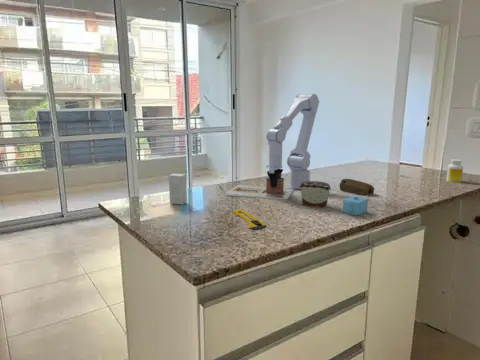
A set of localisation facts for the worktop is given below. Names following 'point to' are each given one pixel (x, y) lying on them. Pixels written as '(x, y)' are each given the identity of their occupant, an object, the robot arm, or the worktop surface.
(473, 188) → the worktop surface
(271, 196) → the rail plate
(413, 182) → the worktop surface
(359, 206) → the blue lidded box
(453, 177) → the supplement bottle
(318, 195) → the food container
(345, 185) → the brown cylinder
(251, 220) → the utility knife
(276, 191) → the lighter
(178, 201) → the skincare box
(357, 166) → the worktop surface
